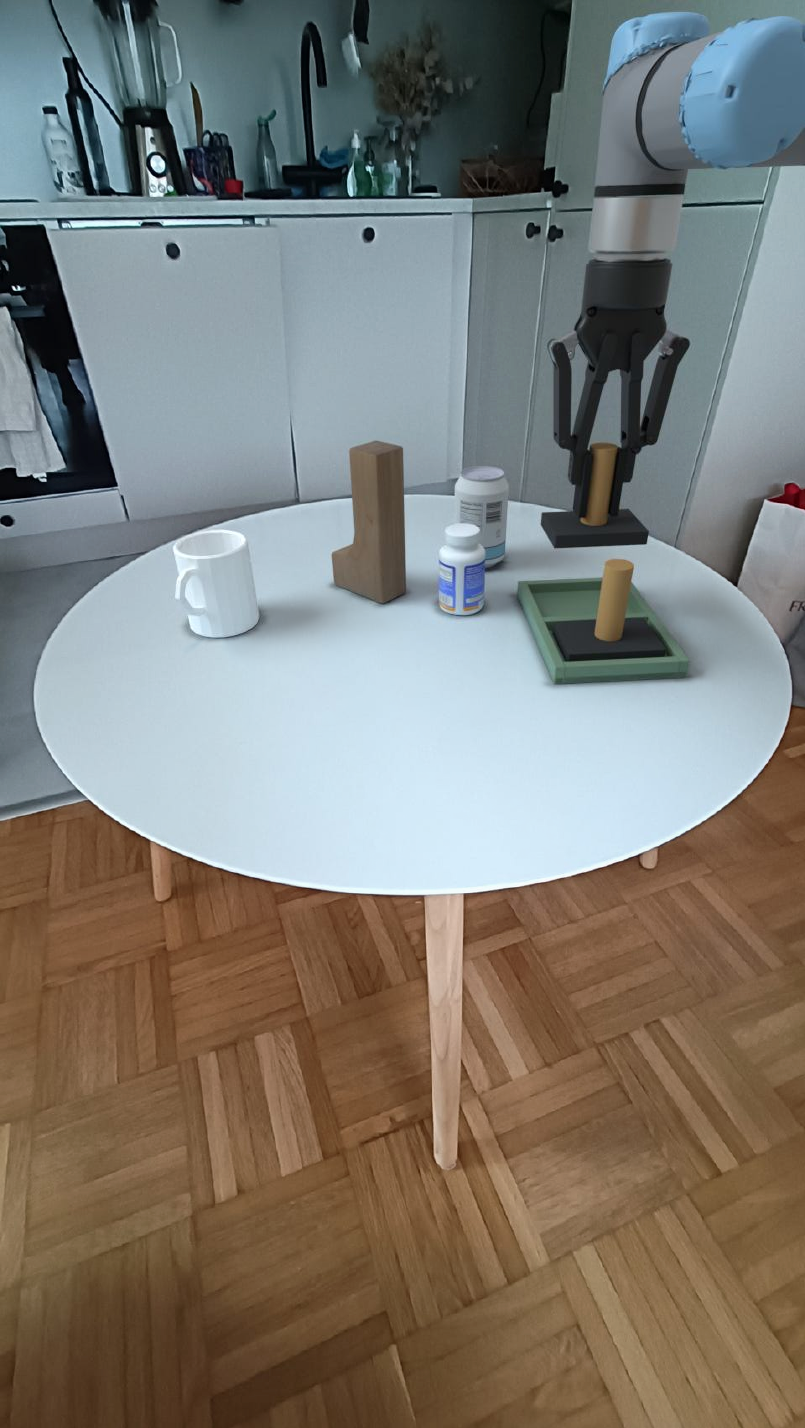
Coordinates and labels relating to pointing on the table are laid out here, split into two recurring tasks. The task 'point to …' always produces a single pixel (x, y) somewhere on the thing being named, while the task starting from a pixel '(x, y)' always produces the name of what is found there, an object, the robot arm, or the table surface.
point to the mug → (216, 583)
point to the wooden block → (375, 525)
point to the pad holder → (580, 604)
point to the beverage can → (484, 507)
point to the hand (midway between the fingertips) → (594, 512)
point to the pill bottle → (461, 570)
